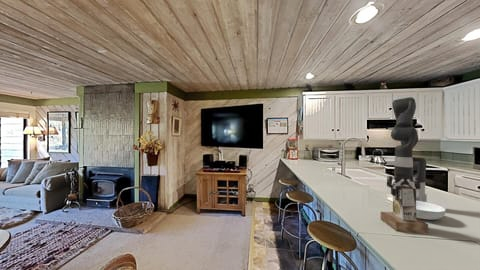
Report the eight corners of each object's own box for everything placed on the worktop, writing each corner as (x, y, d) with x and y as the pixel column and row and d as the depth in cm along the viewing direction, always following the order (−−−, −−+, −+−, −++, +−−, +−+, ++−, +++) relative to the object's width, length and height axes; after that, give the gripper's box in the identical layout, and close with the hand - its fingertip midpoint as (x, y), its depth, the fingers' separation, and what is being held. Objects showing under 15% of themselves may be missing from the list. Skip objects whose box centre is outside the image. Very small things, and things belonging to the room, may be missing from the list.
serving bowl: (431, 212, 124) (432, 201, 124) (455, 227, 104) (455, 214, 104) (392, 208, 131) (392, 197, 131) (406, 221, 111) (407, 208, 111)
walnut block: (408, 222, 110) (408, 213, 110) (428, 234, 96) (428, 224, 96) (380, 220, 112) (380, 211, 112) (396, 232, 98) (396, 222, 98)
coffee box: (417, 221, 99) (416, 188, 99) (402, 220, 100) (402, 188, 101) (405, 214, 108) (405, 184, 108) (392, 213, 109) (391, 184, 109)
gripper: (414, 165, 107) (413, 195, 107) (384, 163, 109) (384, 193, 109) (424, 167, 99) (423, 199, 99) (391, 165, 102) (391, 197, 102)
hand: (403, 196), depth 104 cm, fingers open, 8 cm apart
